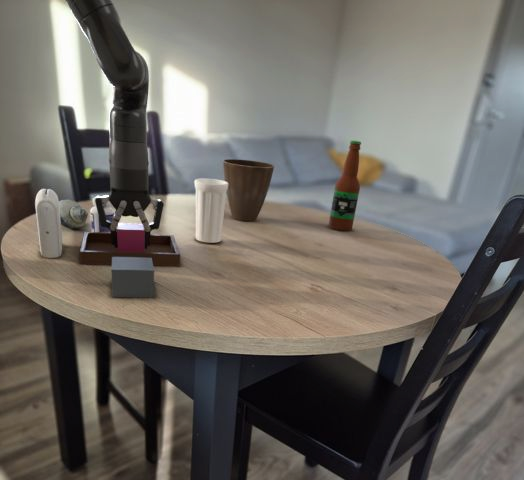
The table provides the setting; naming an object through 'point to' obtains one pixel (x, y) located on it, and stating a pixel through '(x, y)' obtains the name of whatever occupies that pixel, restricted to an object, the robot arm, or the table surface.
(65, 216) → the seashell
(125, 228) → the pink block
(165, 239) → the tray
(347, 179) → the bottle
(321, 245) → the table surface
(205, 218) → the cup
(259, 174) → the flower pot
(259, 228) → the table surface
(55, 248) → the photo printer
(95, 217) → the pill bottle
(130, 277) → the grey block
